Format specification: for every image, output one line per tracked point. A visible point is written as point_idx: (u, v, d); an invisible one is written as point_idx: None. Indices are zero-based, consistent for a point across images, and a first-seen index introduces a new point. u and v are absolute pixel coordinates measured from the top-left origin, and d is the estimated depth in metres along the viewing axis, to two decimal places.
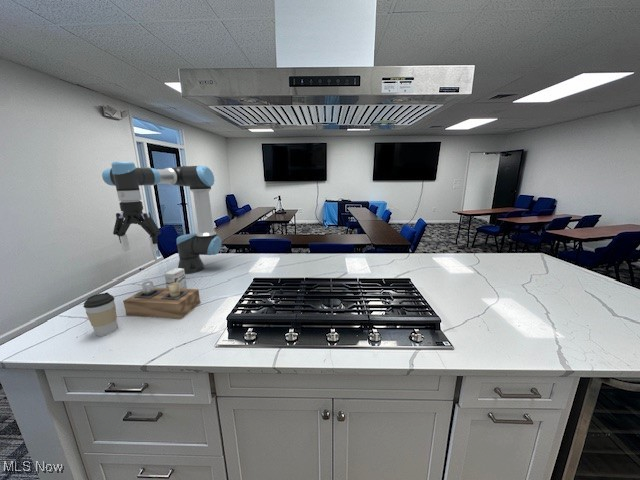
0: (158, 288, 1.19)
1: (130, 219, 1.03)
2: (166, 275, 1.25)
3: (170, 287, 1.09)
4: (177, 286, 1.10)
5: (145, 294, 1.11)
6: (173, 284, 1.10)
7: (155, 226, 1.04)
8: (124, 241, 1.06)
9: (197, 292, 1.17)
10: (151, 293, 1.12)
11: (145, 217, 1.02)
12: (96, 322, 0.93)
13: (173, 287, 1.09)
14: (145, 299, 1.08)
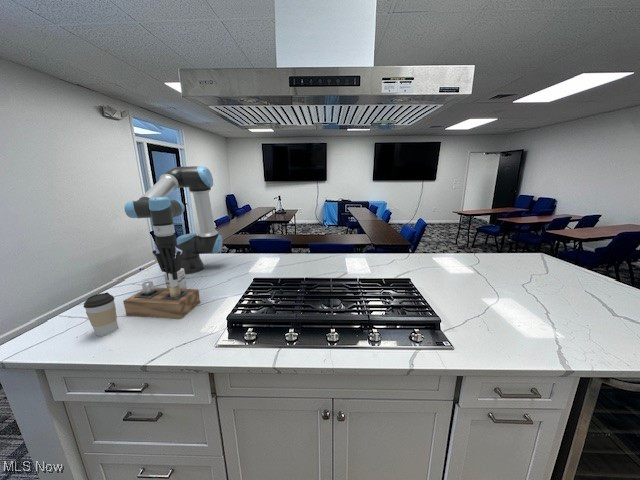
0: (158, 288, 1.19)
1: (164, 252, 1.06)
2: (166, 275, 1.25)
3: (170, 289, 1.09)
4: (177, 289, 1.10)
5: (145, 294, 1.11)
6: None
7: (180, 263, 1.08)
8: None
9: (197, 292, 1.17)
10: (151, 293, 1.12)
11: (177, 254, 1.05)
12: (96, 322, 0.93)
13: (173, 290, 1.09)
14: (145, 299, 1.08)
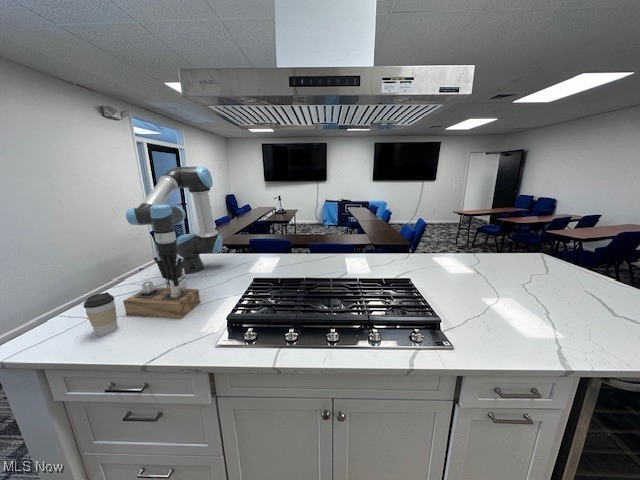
0: (158, 288, 1.19)
1: (165, 259, 1.06)
2: None
3: (172, 296, 1.10)
4: (178, 295, 1.11)
5: (145, 294, 1.11)
6: None
7: (181, 270, 1.09)
8: None
9: (197, 292, 1.17)
10: (151, 293, 1.12)
11: (178, 261, 1.06)
12: (96, 322, 0.93)
13: (174, 296, 1.10)
14: (145, 299, 1.08)
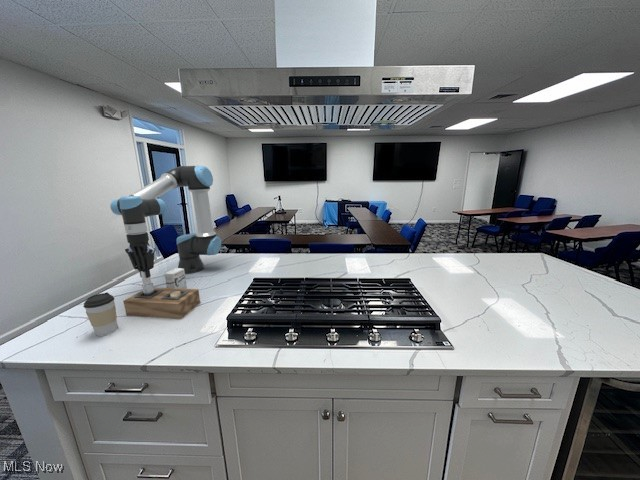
0: (158, 288, 1.19)
1: (136, 250, 1.07)
2: (166, 275, 1.25)
3: (172, 296, 1.10)
4: (178, 295, 1.11)
5: (145, 295, 1.12)
6: (175, 293, 1.11)
7: (152, 261, 1.09)
8: None
9: (197, 292, 1.17)
10: (151, 294, 1.12)
11: (149, 253, 1.07)
12: (96, 322, 0.93)
13: (174, 296, 1.10)
14: (145, 299, 1.08)
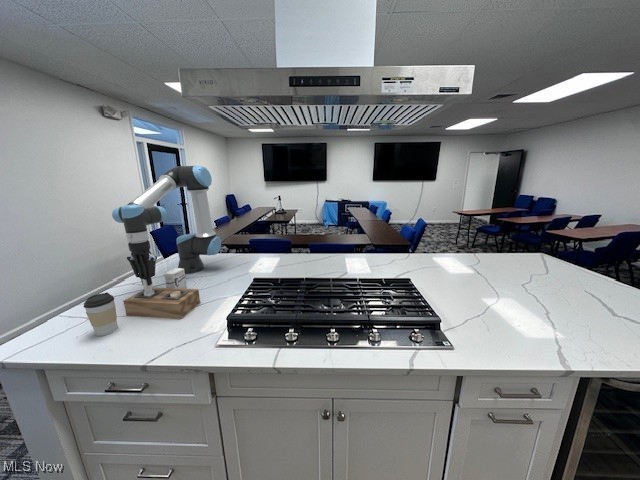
0: (158, 288, 1.19)
1: (138, 258, 1.08)
2: (166, 275, 1.25)
3: (172, 296, 1.10)
4: (178, 295, 1.11)
5: None
6: (175, 293, 1.11)
7: (154, 269, 1.10)
8: None
9: (197, 292, 1.17)
10: None
11: (150, 261, 1.08)
12: (96, 322, 0.93)
13: (174, 296, 1.10)
14: (145, 299, 1.08)
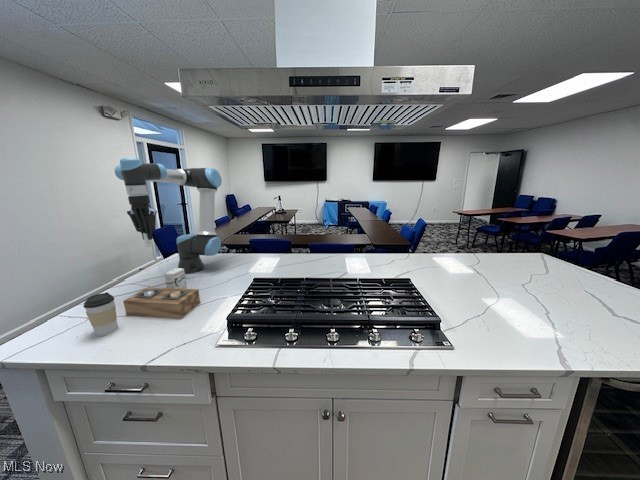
0: (158, 288, 1.19)
1: (138, 212, 1.11)
2: (166, 275, 1.25)
3: (172, 296, 1.10)
4: (178, 295, 1.11)
5: None
6: (175, 293, 1.11)
7: (154, 224, 1.13)
8: None
9: (197, 292, 1.17)
10: None
11: (151, 214, 1.10)
12: (96, 322, 0.93)
13: (174, 296, 1.10)
14: (145, 299, 1.08)
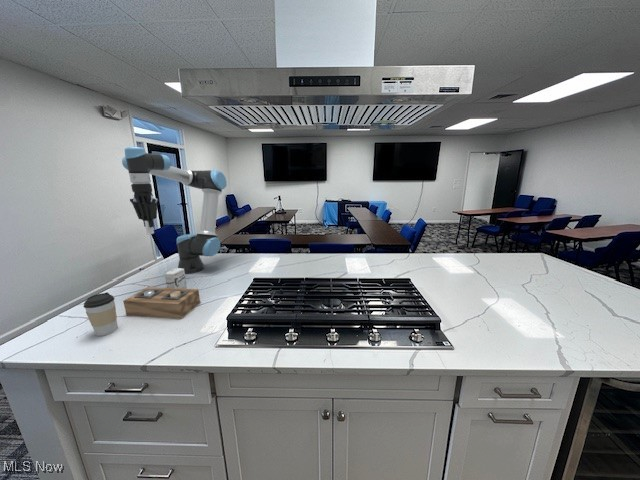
0: (158, 288, 1.19)
1: (140, 199, 1.14)
2: (166, 275, 1.25)
3: (172, 296, 1.10)
4: (178, 295, 1.11)
5: None
6: (175, 293, 1.11)
7: (155, 211, 1.16)
8: None
9: (197, 292, 1.17)
10: None
11: (152, 202, 1.14)
12: (96, 322, 0.93)
13: (174, 296, 1.10)
14: (145, 299, 1.08)
